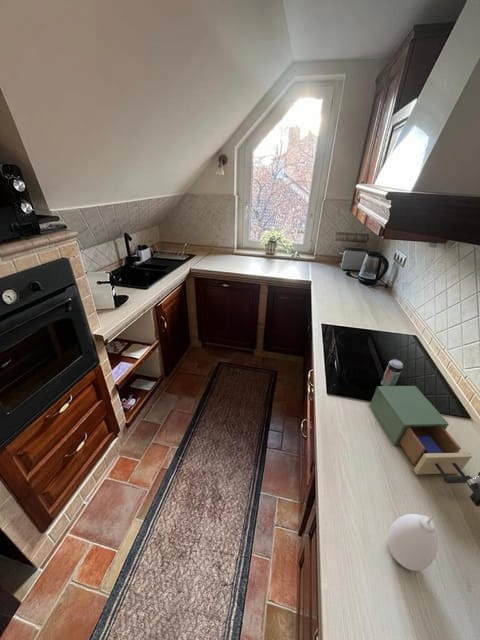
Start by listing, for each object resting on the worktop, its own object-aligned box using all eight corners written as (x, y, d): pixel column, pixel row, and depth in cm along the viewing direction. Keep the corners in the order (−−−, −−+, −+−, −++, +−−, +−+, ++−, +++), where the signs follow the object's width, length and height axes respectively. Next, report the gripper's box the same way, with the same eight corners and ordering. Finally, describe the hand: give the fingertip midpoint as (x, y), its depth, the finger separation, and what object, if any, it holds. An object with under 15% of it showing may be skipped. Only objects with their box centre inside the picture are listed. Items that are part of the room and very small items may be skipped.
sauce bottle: (416, 590, 52) (455, 554, 43) (376, 555, 56) (404, 516, 47) (424, 554, 57) (461, 515, 48) (387, 525, 61) (414, 484, 52)
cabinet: (435, 444, 80) (449, 423, 76) (393, 445, 80) (404, 424, 75) (405, 405, 94) (415, 385, 89) (369, 405, 93) (377, 386, 89)
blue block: (411, 443, 78) (416, 436, 76) (425, 443, 78) (430, 435, 77) (426, 464, 72) (431, 457, 71) (441, 463, 73) (446, 456, 71)
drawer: (473, 492, 67) (488, 475, 63) (428, 493, 67) (440, 477, 63) (424, 428, 84) (433, 412, 80) (387, 429, 84) (395, 412, 80)
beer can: (383, 379, 106) (393, 357, 100) (395, 386, 103) (406, 363, 97) (378, 384, 103) (387, 361, 97) (390, 391, 100) (401, 368, 94)
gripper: (504, 478, 48) (462, 521, 57) (568, 476, 49) (517, 519, 57) (471, 442, 55) (438, 486, 63) (528, 441, 55) (488, 484, 64)
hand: (476, 502), depth 60 cm, fingers closed
